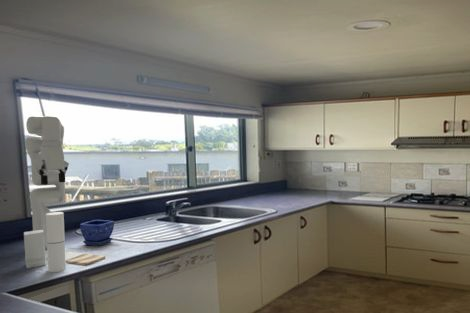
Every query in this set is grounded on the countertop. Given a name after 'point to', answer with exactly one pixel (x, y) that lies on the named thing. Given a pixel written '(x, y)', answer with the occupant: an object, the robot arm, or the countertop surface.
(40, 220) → the robot arm
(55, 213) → the cylindrical container
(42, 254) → the skincare box
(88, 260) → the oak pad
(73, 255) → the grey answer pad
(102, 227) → the flower pot
